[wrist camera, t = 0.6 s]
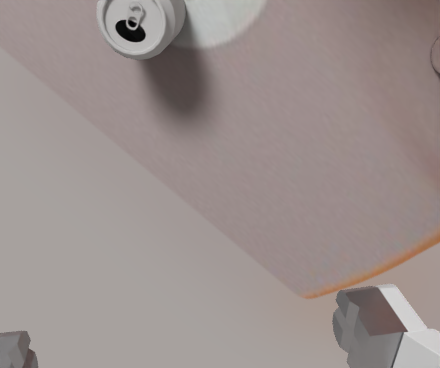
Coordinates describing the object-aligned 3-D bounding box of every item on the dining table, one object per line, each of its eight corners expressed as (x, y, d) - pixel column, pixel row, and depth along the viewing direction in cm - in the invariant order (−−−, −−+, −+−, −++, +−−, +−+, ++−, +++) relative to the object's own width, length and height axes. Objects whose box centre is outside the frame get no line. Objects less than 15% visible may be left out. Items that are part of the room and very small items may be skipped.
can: (115, 30, 49) (82, 45, 39) (131, -36, 46) (100, -40, 35) (175, 53, 50) (159, 75, 40) (195, -10, 47) (183, -6, 36)
